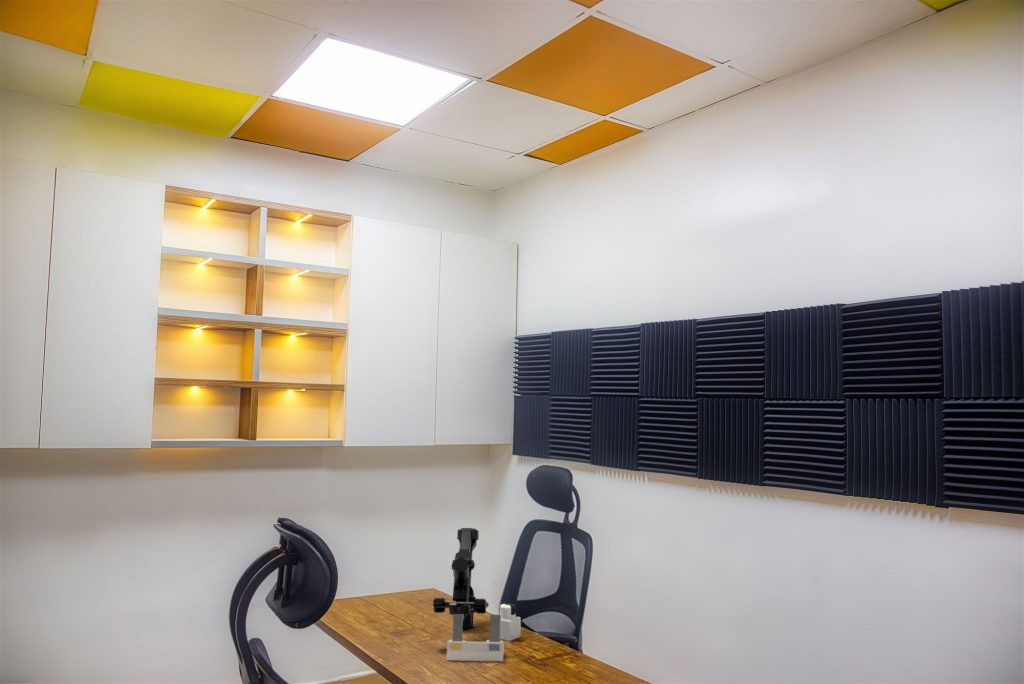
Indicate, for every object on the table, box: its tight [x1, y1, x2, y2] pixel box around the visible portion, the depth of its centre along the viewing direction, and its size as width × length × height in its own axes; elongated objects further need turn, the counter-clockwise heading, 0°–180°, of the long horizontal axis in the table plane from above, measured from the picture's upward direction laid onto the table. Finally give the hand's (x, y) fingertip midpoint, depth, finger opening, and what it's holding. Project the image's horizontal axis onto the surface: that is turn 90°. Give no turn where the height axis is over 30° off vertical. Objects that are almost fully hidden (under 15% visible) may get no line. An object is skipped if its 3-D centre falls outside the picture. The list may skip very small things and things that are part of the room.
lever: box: [489, 614, 501, 642], centre depth 260 cm, size 2×4×10 cm, turn 89°
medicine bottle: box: [499, 602, 522, 642], centre depth 280 cm, size 7×7×12 cm
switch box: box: [446, 639, 505, 662], centre depth 257 cm, size 9×19×6 cm, turn 89°
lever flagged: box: [452, 614, 464, 642], centre depth 260 cm, size 2×4×10 cm, turn 89°
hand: (458, 627), depth 261 cm, fingers closed, pressing on lever flagged
